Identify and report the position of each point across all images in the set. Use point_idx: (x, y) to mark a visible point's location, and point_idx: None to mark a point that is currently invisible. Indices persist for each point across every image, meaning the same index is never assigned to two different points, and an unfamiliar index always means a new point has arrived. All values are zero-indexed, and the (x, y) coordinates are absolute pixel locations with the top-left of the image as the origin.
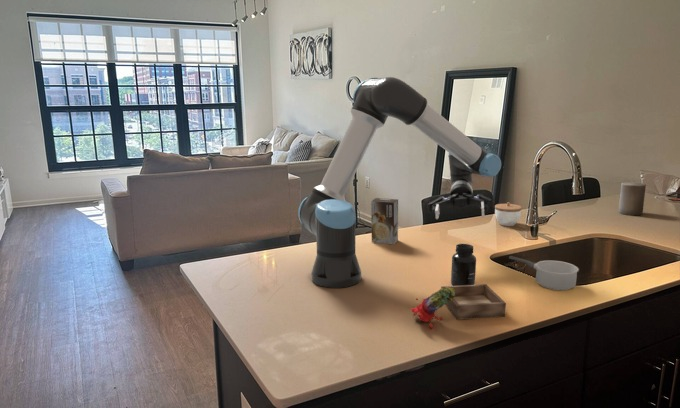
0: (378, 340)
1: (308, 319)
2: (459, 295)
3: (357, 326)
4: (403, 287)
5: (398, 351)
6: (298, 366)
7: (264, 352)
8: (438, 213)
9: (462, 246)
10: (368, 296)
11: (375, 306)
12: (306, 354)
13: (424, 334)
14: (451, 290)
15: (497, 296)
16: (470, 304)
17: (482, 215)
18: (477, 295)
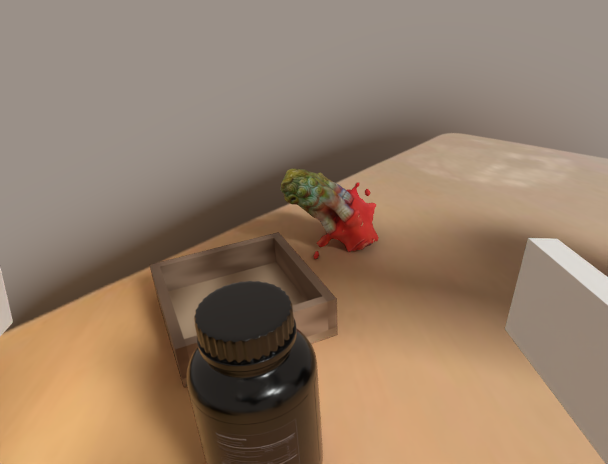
0: (407, 194)
1: (576, 204)
2: None
3: (469, 209)
4: (499, 377)
5: (364, 186)
6: (473, 151)
7: (540, 155)
8: (562, 354)
9: (256, 298)
10: None
11: (492, 263)
12: (484, 162)
13: None
14: (287, 172)
15: (161, 287)
16: (245, 242)
17: (2, 308)
18: None
